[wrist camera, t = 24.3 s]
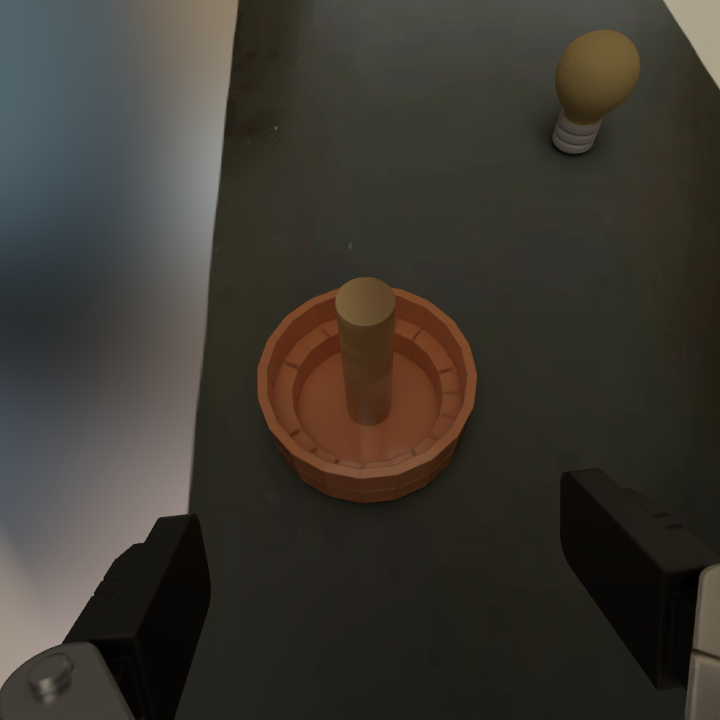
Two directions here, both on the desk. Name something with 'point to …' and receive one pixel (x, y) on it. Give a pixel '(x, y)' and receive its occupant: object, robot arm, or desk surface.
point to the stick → (367, 347)
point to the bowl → (329, 406)
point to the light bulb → (592, 86)
